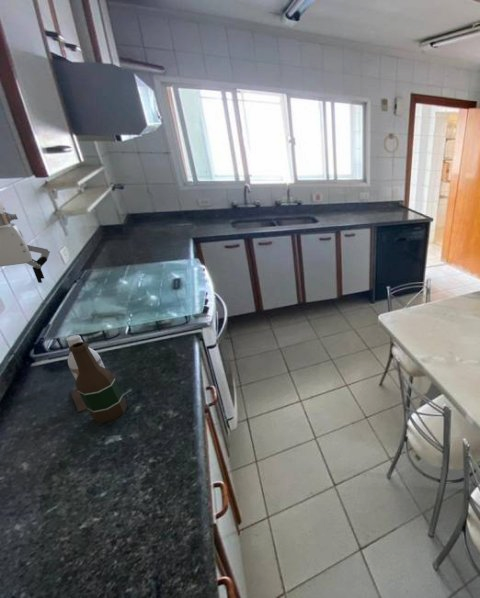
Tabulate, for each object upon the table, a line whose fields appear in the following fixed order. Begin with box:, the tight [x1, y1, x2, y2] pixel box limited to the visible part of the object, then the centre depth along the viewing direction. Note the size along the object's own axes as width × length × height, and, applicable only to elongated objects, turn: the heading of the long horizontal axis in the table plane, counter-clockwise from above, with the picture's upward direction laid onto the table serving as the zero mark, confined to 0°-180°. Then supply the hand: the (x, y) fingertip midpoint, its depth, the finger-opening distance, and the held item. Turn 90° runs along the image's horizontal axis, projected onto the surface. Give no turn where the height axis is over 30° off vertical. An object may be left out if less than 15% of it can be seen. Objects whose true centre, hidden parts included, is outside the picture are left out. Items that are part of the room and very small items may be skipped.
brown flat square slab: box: [70, 375, 117, 413], centre depth 102 cm, size 12×12×1 cm
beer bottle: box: [68, 341, 128, 424], centre depth 90 cm, size 8×8×24 cm
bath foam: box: [65, 334, 106, 381], centre depth 98 cm, size 7×7×20 cm
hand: (13, 285), depth 87 cm, fingers open, 9 cm apart
